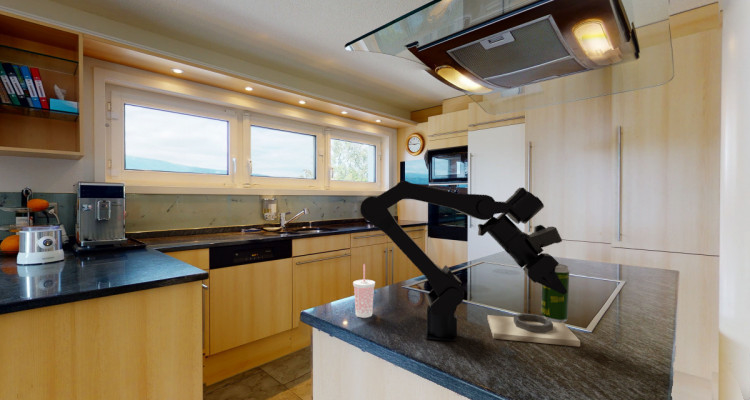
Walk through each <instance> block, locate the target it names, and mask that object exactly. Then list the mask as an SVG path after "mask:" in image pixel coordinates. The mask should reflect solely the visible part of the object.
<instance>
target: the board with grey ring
mask: <svg viewBox="0 0 750 400" xmlns="http://www.w3.org/2000/svg"><path fill="white" fill-rule="evenodd" d="M487 322H488V326H489V328H490V331H491V335H492V338H493V339H495V340H505V341H507V340H508V341H517V342H518V341H519V342H529V343H537V344H538V343H540V344H548V345H549V344H550V345H559V346H560V345H561V346H572V347H581V340H580V339H579V338H578V337H577V336H576V335H575V334H574V332H572V331H571V329H570V328H569V327H568V326H566V324H565V322H563V323H557V322H552V321H548V320H546V319H544V318H543V317H542V315H539V314H536V313H534V314H533V313H525V312H524V313H523V312H521V313H518V314H515V315H513V316H504V315H493V314H492V315H491V314H490V315H489V314H487Z"/></svg>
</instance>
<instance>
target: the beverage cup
mask: <svg viewBox="0 0 750 400" xmlns="http://www.w3.org/2000/svg"><path fill="white" fill-rule="evenodd" d="M362 266H363V267H362V268H363V269H362V270H363V271H362V272H363V278H362V279H357V280H354V281H353V282H352V285H353V289H354V290H353V291H354V307H355V316H356V317H358V318H364V319H365V318H370V317H372V316H373V306H374V294H375V293H374V292H375V286H376V281H374V280H372V279H366V263H363V265H362Z"/></svg>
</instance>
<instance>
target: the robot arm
mask: <svg viewBox="0 0 750 400" xmlns="http://www.w3.org/2000/svg"><path fill="white" fill-rule="evenodd" d="M403 199H411V200H415V201H419V202H423V203H428V204H432V205H436V206H441V207H446V208H449V209H452V210H455V211H457V212H459V213H461V214H463V215H466V216H468V217H471V218H474V219H477V220H481V221H485V223H483V224H482V223H479V224H477V227H478V230H477V231H478V232H477V236H480V237H481V236H484V235H485V234H486V233H488V235H489V236H491V237H492V239H493V240H495V242H497V244H498V245H499V246H500V247H501V248H502V249H503V250H504V251H505V252H506V253H507V254H508V255H509V256H510V257H511V258H512V259H513V261H514V262H515V263H516V264H517V266H519V267H520V268H523V271H524V274H525V275H526V276H527V277H528V278H529V279H530V280H531V281H532V282H533V283H534V284H535V283H538V284H540V285H541V286H542V285H544V286H546V287H548V288H550V289H552V290H554V291H557V292H559V293H561V294H563V295H564V294H566V293H567V290H566V288H565V287H564V285H563V284H562V282H561V281H560V279H559V278H558V276H557V274H556V273H555V267H556V266H558V264H560V263H559V262H558V261H557V259H556V258H555V257H553V256H552V255H551V254H549V253H546V252H545V253H544V249H543V248H545V247H546V248H547V247H548V246H552V245H554V244H560V243H562V242H563V239H562V237H561V234H560V233H559V230H558V229H557V227H555V226H547V227H545V226H544V225H542V224H538V225H536V226H534V229H533V230H534V231H533V232H531V234H528V233H526V232H524V231H522V230H521V228H519V227H518V226H517V225H519V224H520V223H522V224H524V225H526V224H527V223H528V222H529V221H531V219H533V218H534V217H535V216H536V215H537V214H538V213H539V212H540V211H541V210H543V208H544V207H545V205H544V203H543V202H542V200H541V199H540V198H539V197H538V196H536V195H535V194H533V193H532V192H530V191H528V190H526V188H525V187H519V188H517V189H516V190H515V191H514V192H513V194H512V195H511V196H510V197H509V198H507V200H506V201H496V200H495V199H494V198H493V196H490V195H488V194H480V193H479V194H476V193H473V194H472V193H456V192H452V191H447V190H444V189H443V190H442V189H438V188H435V187H430V186H426V185H425V186H424V185H421V184H417V183H412V182H409V181H408V180H401V181H399V182H398V183H397V184H396V185H394V186H393V187H391V188H390V189H387V190H386V191H384V192H383V193H381V194H380V195H378V196H368V197H366V198H365V199H363V201H362V202H361V205H360V210H359V211H360V214H361V216H362V217H363V218H364V220H366V221H368V222H369V223H370V224H371V225H373V226H374V227H375V228H376V229H378V230H379V231H381V232H382V233H384V234H385V235H386V236H387V237H388V238H389V239H390V240H391V241H392V242H393V243H394V245H396V246H397V248H398V249H399V250H400V251H401V252H402V253H403V255H405V256H406V257H407V258H408V259H409V261H410V262H411V263H412V264H413V265H414V266H415V267H416V268H417V269H418V271H420V272H421V274H423V276H424V277H425V278H426V280H427V281H428V283H429V285H430V287H431V288H432V289H431V290H430V291H429V292H428V293H427V294H426V299H427V301H428V304H429V305H427V308H426V333H425V339H427V340H435V341H445V342H446V341H447V342H455V341H456V339H455V338H456V336H458V335H457V334H458V315H457V313H456V314H455V312H456V310H457V307H458V306H460V305H461V303H462V302H463V301H464V298H465V290H464V288H463V286H462V285H463V282H462V281H461V280H460V279H459V277H458V276H457V275H455V274H453V272H452V271H451V270H450V268H449V266H447V265H446V264H445V265H444V266H443V268H441V267H440V266H438V264H436V263H435V262H434V261H433V260H432V259H431V257H430V256H428V254H427V253H425V251H424V250H423V249H422V248H421V247H420V246H419V245H418V244H417V243H416V242H415V240H414V239H413V238H412V237H411V235H409V234H408V233H407V232H406V231H405V230H404V229H403V228H402V226H401V225H400V224H399V223H398V222H397V220H396V219H395V217H394V216H393V214H392V212H391V210H390V209H389V208H392V206H394V205H396V204H397V203H399V202H401V201H402V200H403ZM497 214H500V215H498V216H497V217H496V216H495V215H497ZM515 223H516V224H517V225H516V224H515ZM542 252H543V253H542Z"/></svg>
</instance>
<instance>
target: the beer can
mask: <svg viewBox="0 0 750 400" xmlns="http://www.w3.org/2000/svg"><path fill="white" fill-rule="evenodd" d="M555 273H556V274H557V276H558V278H559V279H560V281H561V282H562V284H563V285H564V287H565V288H566V290H567V293H566V294H564V295H563V294H561V293H559V292H557V291H554V290H552V289H550V288H548V287H546V286H544V285H542V284H541V286H540V287H541V288H540V289H541V291H540V293H541V295H540V314H541V315H540V316H542V317H543V318H544V319H546V320H548V321H552V322H557V323H566V322H567V320H568V318H569V299H570V298H569V295H570V294H569V293H570V292H569V291H570V270H569V266H568V265H565V264H562V263H561V264H560V263H559V264H558V266H556V267H555Z"/></svg>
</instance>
